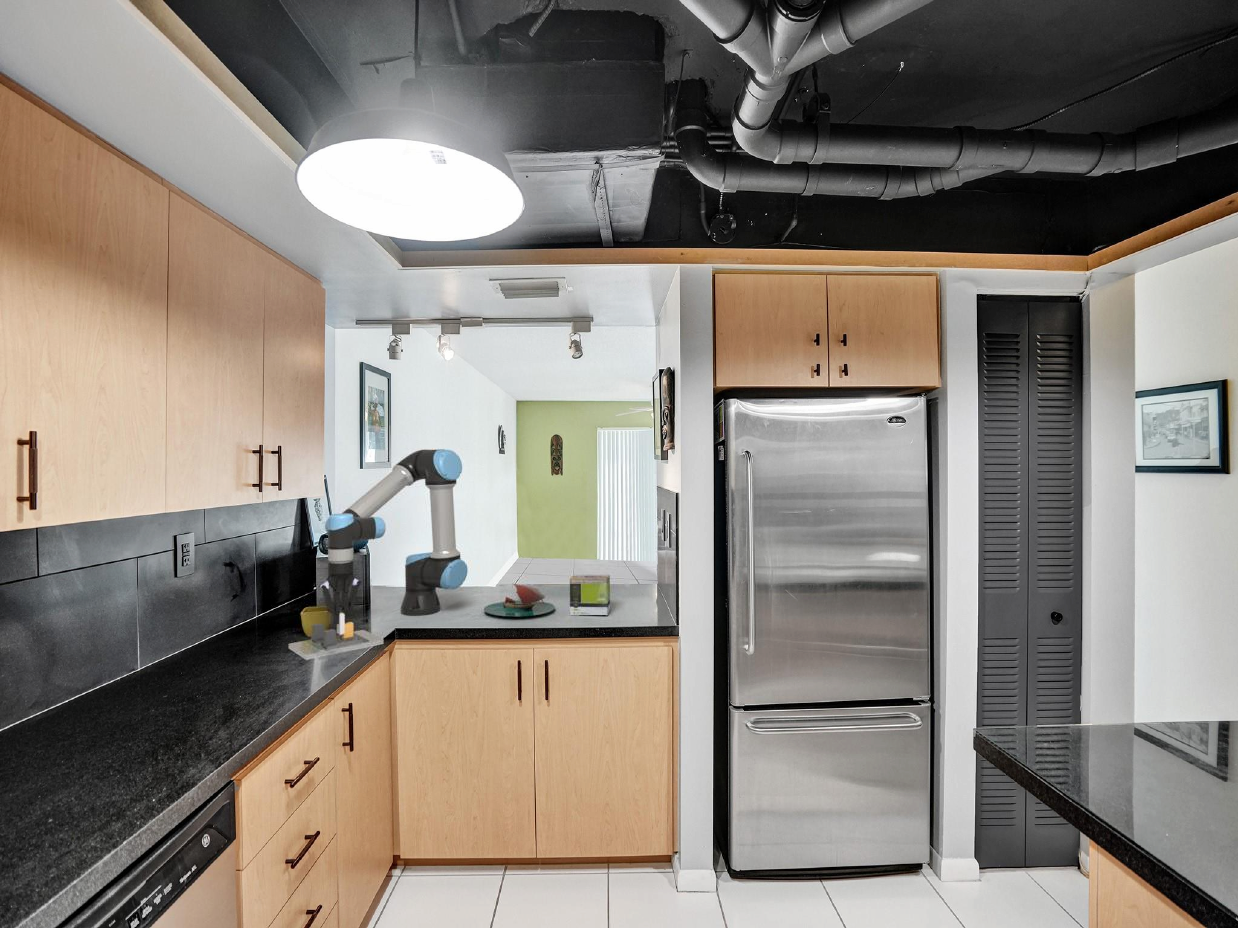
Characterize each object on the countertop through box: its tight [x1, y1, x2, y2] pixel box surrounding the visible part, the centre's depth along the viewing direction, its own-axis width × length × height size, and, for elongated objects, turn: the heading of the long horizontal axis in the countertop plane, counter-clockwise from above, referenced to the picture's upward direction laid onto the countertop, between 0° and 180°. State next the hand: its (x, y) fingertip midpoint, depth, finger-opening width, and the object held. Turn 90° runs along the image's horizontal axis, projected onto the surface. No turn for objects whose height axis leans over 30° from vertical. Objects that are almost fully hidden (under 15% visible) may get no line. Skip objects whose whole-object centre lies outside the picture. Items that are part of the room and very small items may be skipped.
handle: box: [324, 628, 337, 648], centre depth 198 cm, size 3×2×5 cm, turn 134°
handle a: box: [312, 623, 324, 641], centre depth 205 cm, size 3×2×5 cm, turn 134°
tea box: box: [569, 574, 611, 616], centre depth 249 cm, size 15×10×15 cm
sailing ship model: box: [483, 583, 556, 617], centre depth 251 cm, size 28×28×11 cm
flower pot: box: [300, 605, 333, 638], centre depth 217 cm, size 9×9×9 cm
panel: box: [288, 629, 384, 661], centre depth 204 cm, size 24×16×2 cm, turn 135°
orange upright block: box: [342, 621, 354, 639], centre depth 206 cm, size 3×2×5 cm, turn 134°
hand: (340, 633), depth 205 cm, fingers closed
